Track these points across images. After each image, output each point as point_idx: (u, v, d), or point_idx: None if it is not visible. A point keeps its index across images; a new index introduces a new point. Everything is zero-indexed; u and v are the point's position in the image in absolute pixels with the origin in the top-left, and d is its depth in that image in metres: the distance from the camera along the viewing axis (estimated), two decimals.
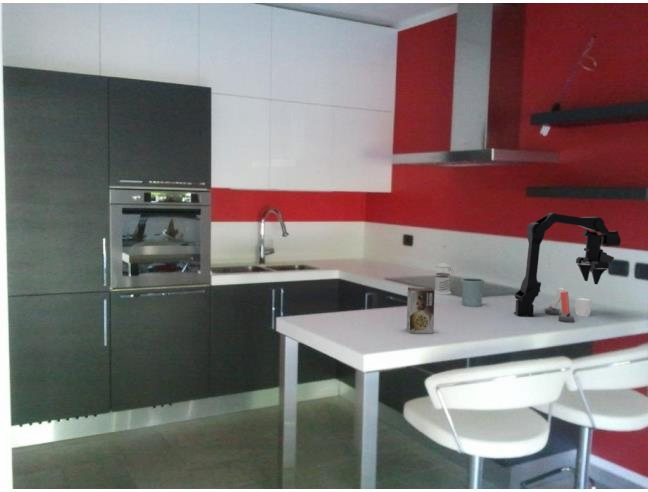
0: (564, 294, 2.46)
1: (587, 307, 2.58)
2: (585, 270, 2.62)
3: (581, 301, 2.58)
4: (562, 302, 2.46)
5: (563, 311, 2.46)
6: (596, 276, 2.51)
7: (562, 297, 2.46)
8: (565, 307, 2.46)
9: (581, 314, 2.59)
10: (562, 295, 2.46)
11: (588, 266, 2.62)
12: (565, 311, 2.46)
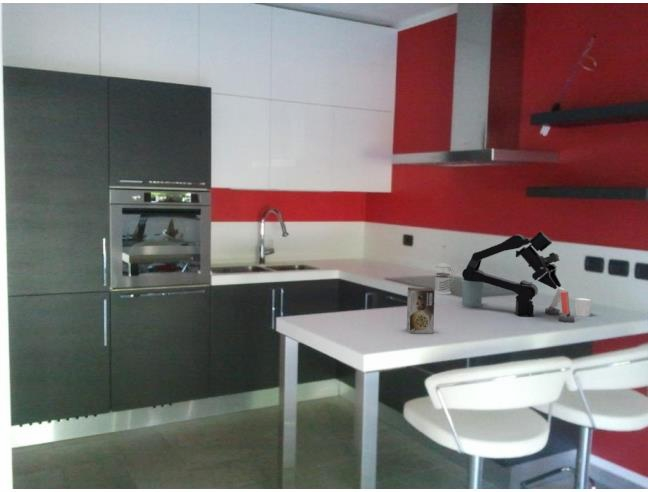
0: (564, 294, 2.46)
1: (587, 307, 2.58)
2: (552, 278, 2.54)
3: (581, 301, 2.58)
4: (562, 302, 2.46)
5: (563, 311, 2.46)
6: (548, 283, 2.47)
7: (562, 297, 2.46)
8: (565, 307, 2.46)
9: (581, 314, 2.59)
10: (562, 295, 2.46)
11: (551, 273, 2.54)
12: (565, 311, 2.46)
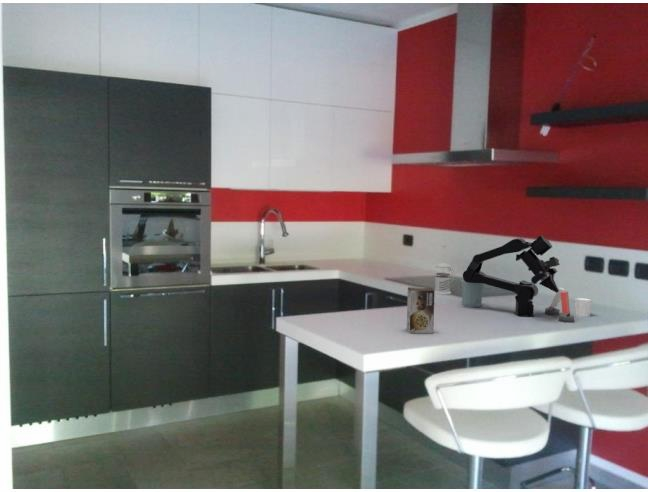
0: (564, 294, 2.46)
1: (587, 307, 2.58)
2: None
3: (581, 301, 2.58)
4: (562, 302, 2.46)
5: (563, 311, 2.46)
6: (550, 286, 2.49)
7: (562, 297, 2.46)
8: (565, 307, 2.46)
9: (581, 314, 2.59)
10: (562, 295, 2.46)
11: None
12: (565, 311, 2.46)
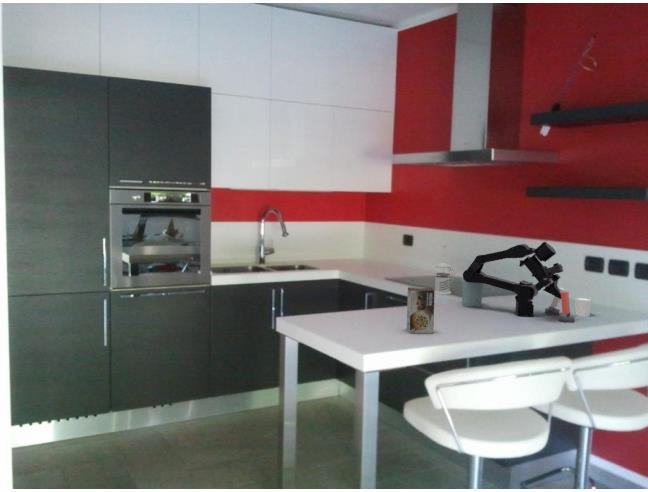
0: (564, 294, 2.46)
1: (587, 307, 2.58)
2: None
3: (581, 301, 2.58)
4: (562, 302, 2.46)
5: (563, 311, 2.46)
6: (553, 292, 2.49)
7: (562, 297, 2.46)
8: (565, 307, 2.46)
9: (581, 314, 2.59)
10: (562, 295, 2.46)
11: None
12: (565, 311, 2.46)
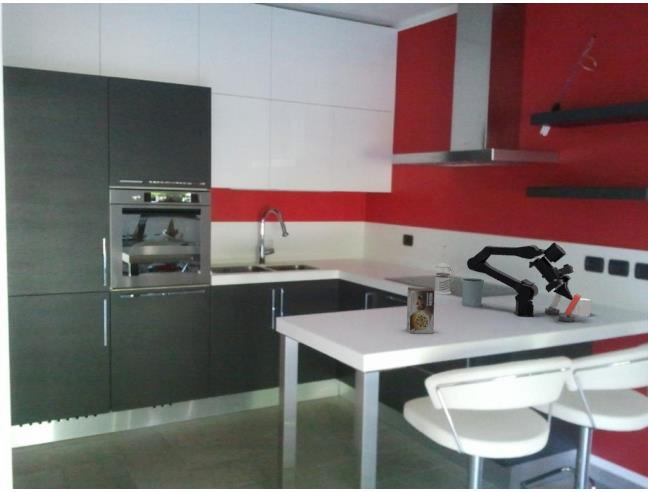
0: (577, 298, 2.43)
1: (587, 307, 2.58)
2: None
3: (581, 301, 2.58)
4: (570, 303, 2.44)
5: (566, 311, 2.46)
6: (564, 294, 2.46)
7: (573, 299, 2.44)
8: (570, 309, 2.45)
9: (581, 314, 2.59)
10: (574, 298, 2.43)
11: None
12: (568, 312, 2.45)
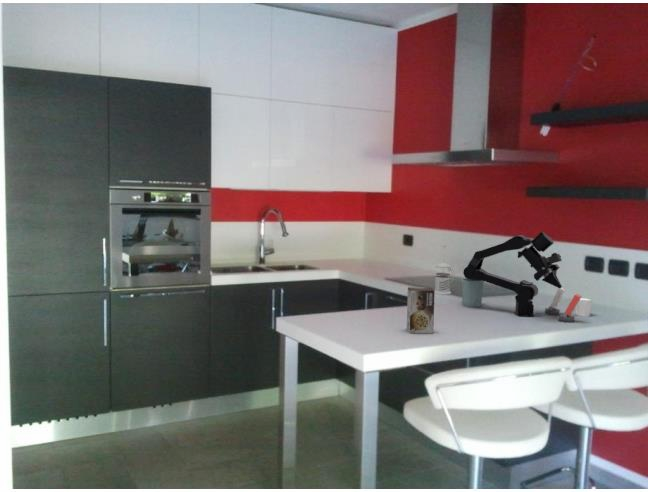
0: (577, 298, 2.43)
1: (587, 307, 2.58)
2: None
3: (581, 301, 2.58)
4: (570, 303, 2.44)
5: (566, 311, 2.46)
6: (553, 282, 2.49)
7: (573, 299, 2.44)
8: (570, 309, 2.45)
9: (581, 314, 2.59)
10: (574, 298, 2.43)
11: None
12: (568, 312, 2.45)
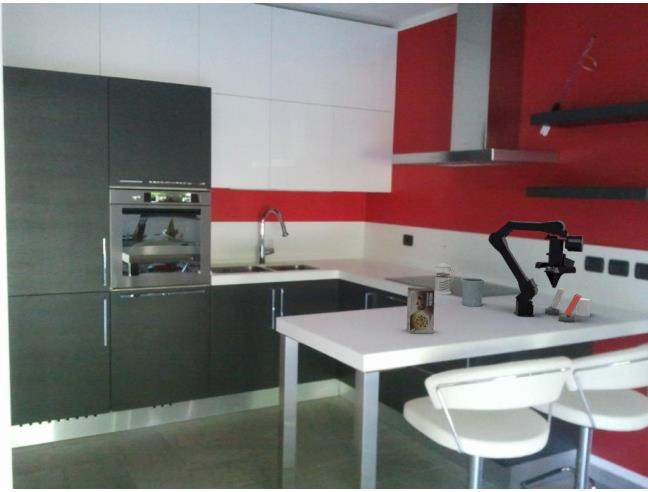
0: (577, 298, 2.43)
1: (587, 307, 2.58)
2: None
3: (581, 301, 2.58)
4: (570, 303, 2.44)
5: (566, 311, 2.46)
6: (555, 280, 2.49)
7: (573, 299, 2.44)
8: (570, 309, 2.45)
9: (581, 314, 2.59)
10: (574, 298, 2.43)
11: None
12: (568, 312, 2.45)
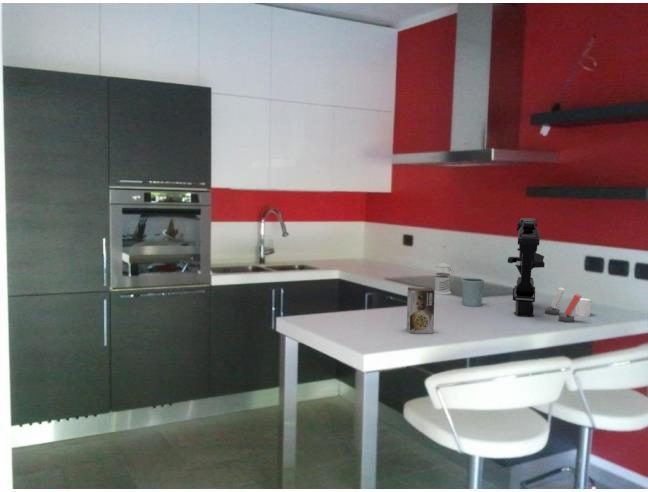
0: (577, 298, 2.43)
1: (587, 307, 2.58)
2: None
3: (581, 301, 2.58)
4: (570, 303, 2.44)
5: (566, 311, 2.46)
6: None
7: (573, 299, 2.44)
8: (570, 309, 2.45)
9: (581, 314, 2.59)
10: (574, 298, 2.43)
11: None
12: (568, 312, 2.45)
